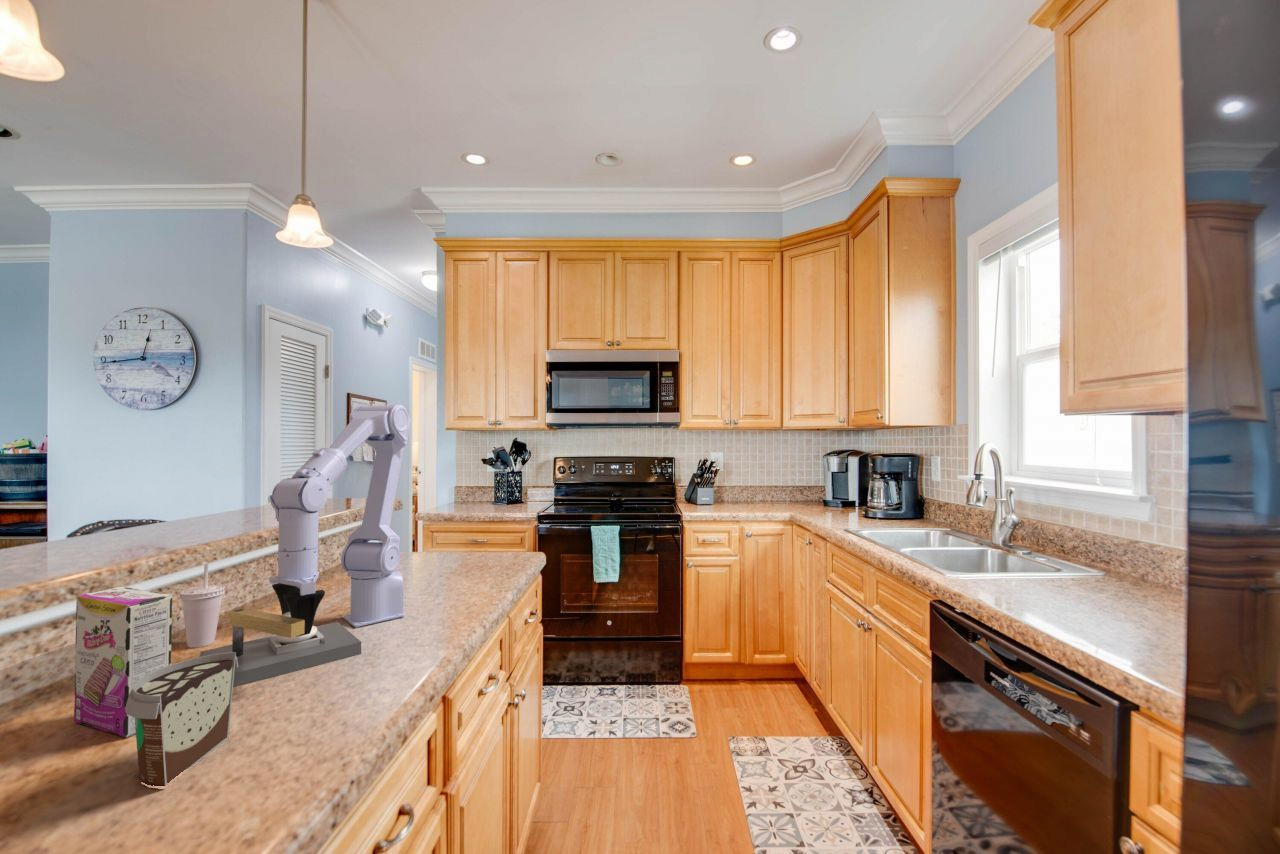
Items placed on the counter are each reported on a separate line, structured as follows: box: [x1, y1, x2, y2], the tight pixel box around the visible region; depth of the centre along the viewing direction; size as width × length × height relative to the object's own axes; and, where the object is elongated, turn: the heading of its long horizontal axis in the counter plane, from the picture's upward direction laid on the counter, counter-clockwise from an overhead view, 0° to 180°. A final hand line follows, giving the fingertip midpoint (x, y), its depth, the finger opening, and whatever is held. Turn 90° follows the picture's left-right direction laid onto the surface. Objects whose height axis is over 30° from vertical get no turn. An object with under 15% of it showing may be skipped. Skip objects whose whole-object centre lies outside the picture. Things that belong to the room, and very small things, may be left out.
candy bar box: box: [73, 586, 173, 738], centre depth 67 cm, size 11×5×16 cm, turn 71°
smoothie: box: [178, 563, 226, 649], centre depth 94 cm, size 6×6×14 cm
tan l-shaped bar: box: [228, 607, 305, 657], centre depth 80 cm, size 15×2×7 cm, turn 67°
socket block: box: [199, 621, 362, 688], centre depth 87 cm, size 20×14×3 cm
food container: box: [125, 652, 238, 786], centre depth 59 cm, size 12×6×10 cm, turn 5°
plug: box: [276, 612, 317, 646], centre depth 88 cm, size 6×6×5 cm
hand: (297, 629), depth 88 cm, fingers open, 7 cm apart
